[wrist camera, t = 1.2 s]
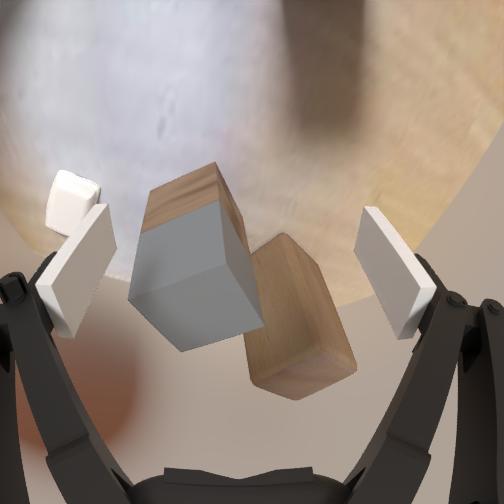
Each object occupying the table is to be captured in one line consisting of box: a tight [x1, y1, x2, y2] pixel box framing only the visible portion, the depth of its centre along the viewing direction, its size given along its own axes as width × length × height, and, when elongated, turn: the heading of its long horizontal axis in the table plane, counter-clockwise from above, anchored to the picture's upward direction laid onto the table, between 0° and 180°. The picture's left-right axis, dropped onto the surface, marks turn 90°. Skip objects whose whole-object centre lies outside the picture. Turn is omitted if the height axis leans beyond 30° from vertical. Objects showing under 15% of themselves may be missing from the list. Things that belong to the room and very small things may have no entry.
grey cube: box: [128, 200, 265, 352], centre depth 31 cm, size 9×9×9 cm
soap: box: [45, 170, 100, 237], centre depth 37 cm, size 9×7×3 cm
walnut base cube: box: [140, 162, 252, 262], centre depth 38 cm, size 9×9×9 cm
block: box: [243, 233, 357, 400], centre depth 42 cm, size 10×10×20 cm
